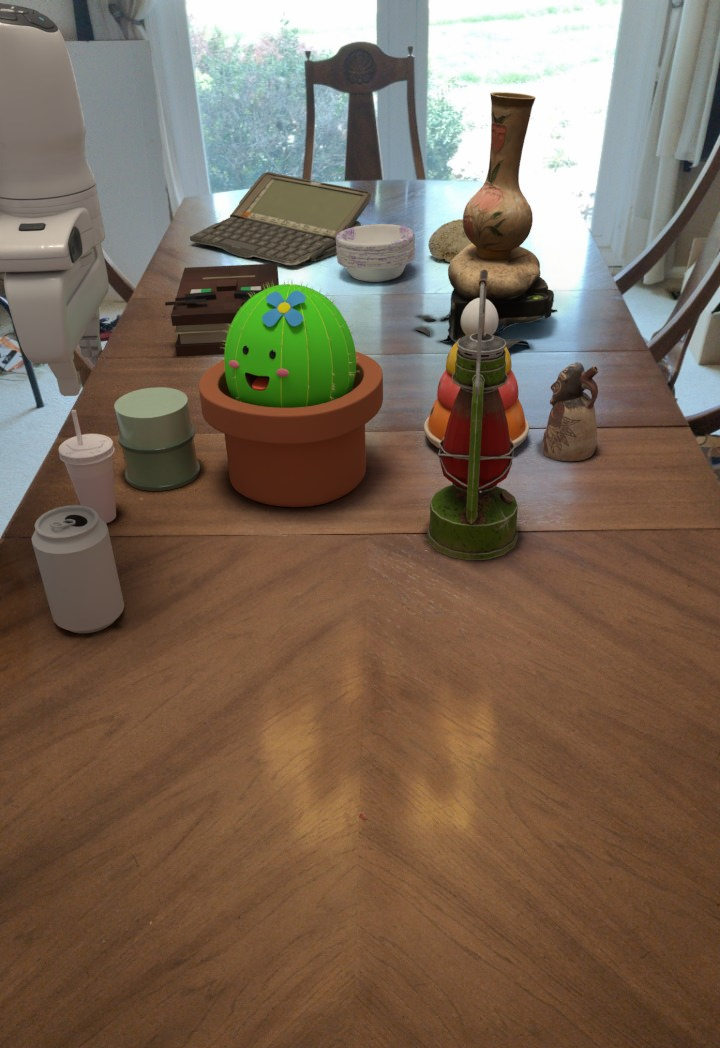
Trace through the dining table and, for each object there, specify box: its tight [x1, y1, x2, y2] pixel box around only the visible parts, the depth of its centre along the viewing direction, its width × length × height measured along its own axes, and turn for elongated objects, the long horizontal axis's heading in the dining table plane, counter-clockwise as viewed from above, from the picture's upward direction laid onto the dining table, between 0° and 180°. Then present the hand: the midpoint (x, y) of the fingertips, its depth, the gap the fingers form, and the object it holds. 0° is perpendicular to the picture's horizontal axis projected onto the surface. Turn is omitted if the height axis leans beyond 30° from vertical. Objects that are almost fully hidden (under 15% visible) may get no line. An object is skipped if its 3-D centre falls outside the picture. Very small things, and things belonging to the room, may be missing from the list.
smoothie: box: [57, 409, 117, 524], centre depth 117 cm, size 6×6×14 cm
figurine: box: [541, 361, 599, 462], centre depth 128 cm, size 7×7×12 cm
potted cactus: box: [198, 278, 384, 508], centre depth 120 cm, size 22×22×25 cm
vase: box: [415, 91, 558, 350], centre depth 158 cm, size 24×22×35 cm
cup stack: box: [113, 386, 201, 492], centre depth 127 cm, size 10×10×10 cm
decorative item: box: [427, 218, 472, 263], centre depth 198 cm, size 12×9×10 cm
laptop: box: [189, 171, 372, 266], centre depth 209 cm, size 26×32×10 cm
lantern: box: [426, 270, 519, 561], centre depth 106 cm, size 14×11×30 cm
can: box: [30, 504, 125, 634], centre depth 101 cm, size 8×8×12 cm
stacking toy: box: [423, 298, 530, 449], centre depth 129 cm, size 14×14×20 cm
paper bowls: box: [336, 223, 416, 283], centre depth 190 cm, size 15×15×8 cm
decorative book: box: [164, 262, 280, 357], centre depth 170 cm, size 19×8×30 cm
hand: (82, 372), depth 95 cm, fingers open, 8 cm apart
